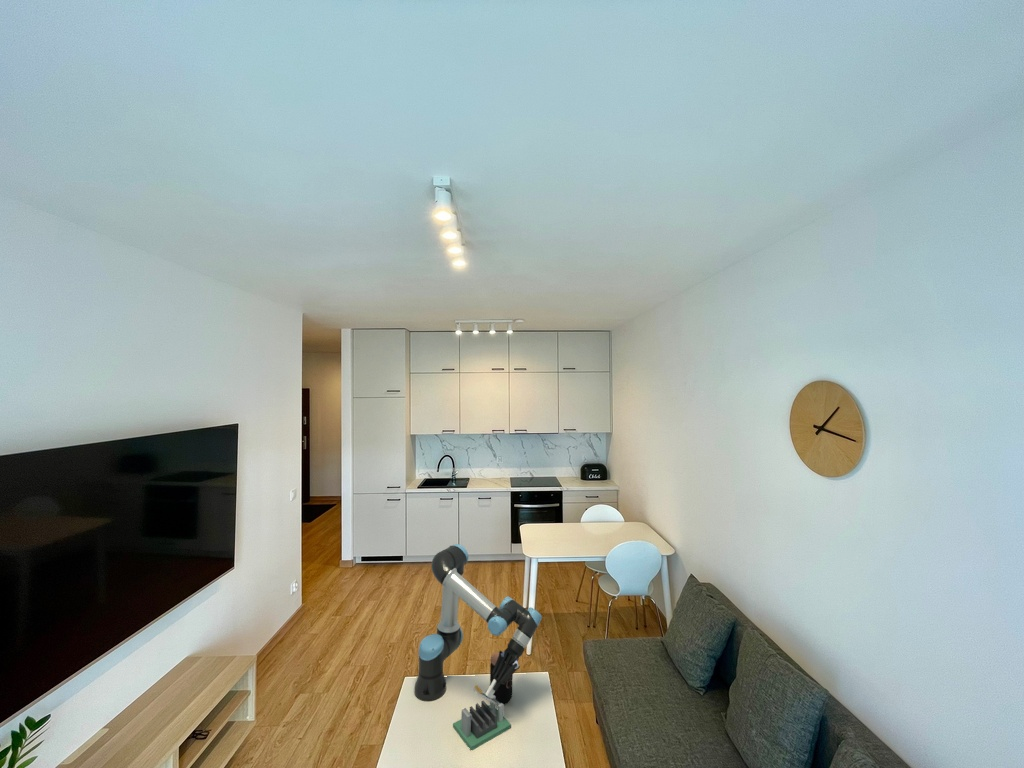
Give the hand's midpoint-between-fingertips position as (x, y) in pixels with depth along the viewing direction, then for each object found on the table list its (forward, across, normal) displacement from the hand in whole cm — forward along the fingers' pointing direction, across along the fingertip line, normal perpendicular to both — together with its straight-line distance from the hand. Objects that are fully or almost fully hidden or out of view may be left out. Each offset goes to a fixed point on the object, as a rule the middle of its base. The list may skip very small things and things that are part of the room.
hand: (488, 696), depth 177 cm
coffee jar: (-1, +11, -20) cm, 23 cm away
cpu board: (+11, +1, -8) cm, 13 cm away
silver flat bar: (+1, +1, -1) cm, 2 cm away
